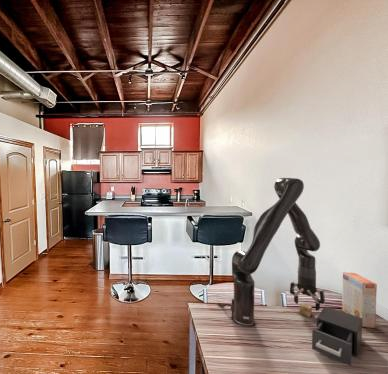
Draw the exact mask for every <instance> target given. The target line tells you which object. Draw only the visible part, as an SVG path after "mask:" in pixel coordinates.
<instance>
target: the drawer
mask: <svg viewBox="0 0 388 374" xmlns="http://www.w3.org/2000/svg"><path fill="white" fill-rule="evenodd" d="M311 334H312V335H311V350H314V351H315V352H318V353H320V354H322V355H325V356H327V357H329V358H331V359H334V360H335V361H338V362H340V363H342V364H344V365H346V366H349V367H352V355H351V354H352V351H353V348H354V333H353V332H350V331H347V330H344V329H342V328H339V327H336V326H333V325H331V324H328V323H325V322H322V321H321V322H320V323H319V325H318V326H317V325H316V328H312V330H311Z"/></svg>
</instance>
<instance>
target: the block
mask: <svg viewBox="0 0 388 374" xmlns="http://www.w3.org/2000/svg"><path fill="white" fill-rule="evenodd" d="M299 314H300V315H302V316H305V317H307V318H311V316H312V315H313V306H312V305H309V304H307V303H303V302H301V304H300V305H299Z"/></svg>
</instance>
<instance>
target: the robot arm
mask: <svg viewBox="0 0 388 374" xmlns="http://www.w3.org/2000/svg"><path fill="white" fill-rule="evenodd" d="M273 188H274V191H275V194H276V196H277V197H278V198H279V199H278V200H277V201H276V202H275V203H274V204H273V205H271V206H269V208H267V209H266V210H265V211H264V212H262V214H260V216H259V217H258V219H257V221H256V222H255V225H254V227H253V234H252V241H251V243H250V246H249V247H248V249H247V251H245V250H242V249H240V250H237V251H235V252H234V253H233V254H232V258H231V276H232V280H233V297H232V299H231V303H224V304H222V303H220V302H218V304H217V305H218V306H220V307H222V308H223V307H230V311H231V319H232V320H233V321H234V322H236V323H237V324H238V325H242V326H246V327H247V326H248V327H250V326H253V325H254V324H255V287H256V286H255V285H256V283H255V280H254V278H253V276H252V274H254V273H255V272H256V271H257V270H258V268H259V266H260V264H261V262H262V259H263V257H264V255H265V253H266V251H267V249H268V247H269V245H270V244H271V242H272V240H273V238H274V237H275V235H276V234H277V232H278V231H279V228H280V227H281V226H282V223H283V221H284V219H285V218H286V217H287V215H288V217H289V220H290V223H291V225H292V227H293V231H294V233H295V234H297V236H296V237H295V238H294V246H295V250H296V253H297V256H298V266H297V283H296V282H295V281H291V282H290V286H289V294H291V295H292V296H293V302H294V303H295V304H296V305H298V304H299V295H300V294H302V295H305V296H308V297H311V298H312V300H313V301H314V302H315V311H319V310H320V308H321V304H322V305H323V304H324V303H325V302H326V298H325V290H324V289H317V268H316V264H317V263H316V262H317V261H316V257H315V256H314V255H313V254H311V253H310V252H317V251H319V250H320V248H321V242H320V239H319V237H318V236H317V234H316V233H315V232H314V230H313V229H312V227H311V224H310V222H309V219H308V217H307V215H306V213H305V212H304V211H303V209H301V207H300V206H299V205H298V203H297V201H298V200H299V198H300V197H301V196H302V194H303V192H304V188H305V184H304V182H303V180H302V179H301V178H298V177H297V178H295V177H280V178H278V179H277V180H275V182H274V185H273ZM296 287H297V289H298V290H297V291H295V288H296ZM316 293H317V294H318V295H319V296H318V295H317V294H316Z"/></svg>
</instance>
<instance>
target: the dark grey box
mask: <svg viewBox="0 0 388 374" xmlns="http://www.w3.org/2000/svg"><path fill="white" fill-rule="evenodd" d="M321 321H322V322H325V323H328V324H331V325H333V326H336V327H339V328H342V329H344V330H347V331H350V332H353V333H354V348H353V351H352V354H351V356H354V357H358V355H359V351H360V348H361V344H362V342H363V327H362V318H360V317H357V316H354V315H351V314H348V313H345V312H342V310H338V309H335V308H333V307H330V306H326V305H325V306H324V307H323V308H322V309H321V311H320V313H318V316H317V317H316V327H317V326H318V325H319V323H320V322H321Z"/></svg>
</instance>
